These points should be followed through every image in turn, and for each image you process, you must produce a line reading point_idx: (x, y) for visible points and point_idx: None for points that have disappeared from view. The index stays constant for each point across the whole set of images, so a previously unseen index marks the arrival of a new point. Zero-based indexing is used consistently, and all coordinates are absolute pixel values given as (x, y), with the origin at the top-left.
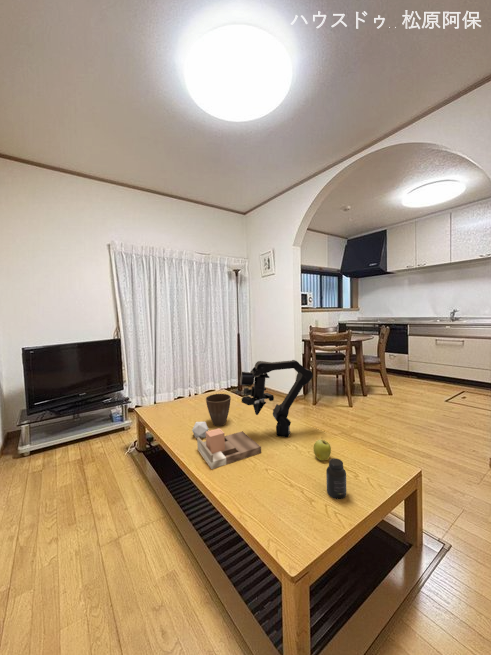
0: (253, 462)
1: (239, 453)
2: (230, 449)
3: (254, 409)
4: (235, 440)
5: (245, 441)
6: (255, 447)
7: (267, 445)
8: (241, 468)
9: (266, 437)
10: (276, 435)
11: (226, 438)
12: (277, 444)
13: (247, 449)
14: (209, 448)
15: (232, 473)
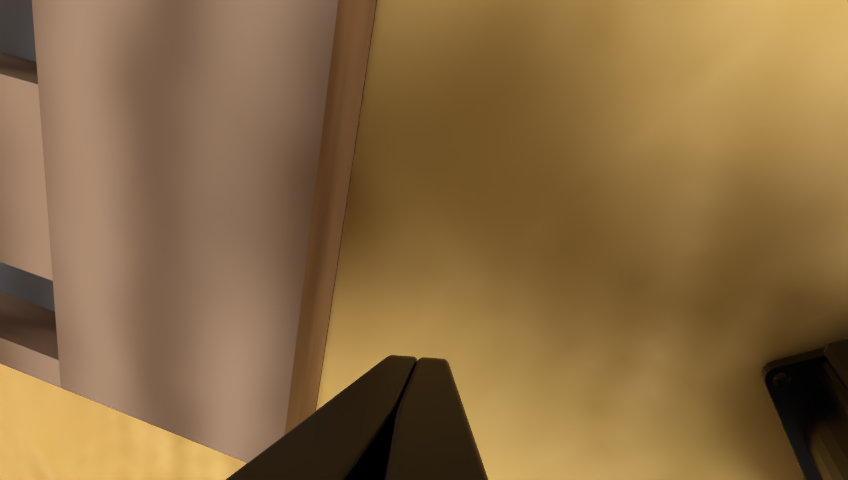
0: (179, 455)
1: (53, 384)
2: (9, 263)
3: (248, 476)
4: (116, 154)
5: (205, 271)
6: (224, 441)
7: (462, 402)
8: (75, 429)
9: (621, 276)
10: (764, 371)
11: (39, 9)
12: (565, 477)
13: (142, 400)
14: None
15: (7, 416)
